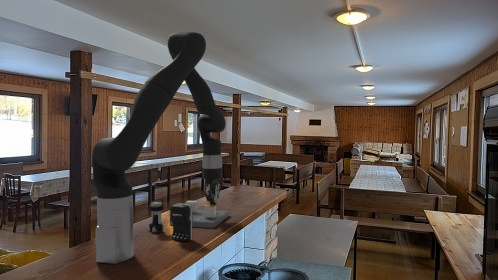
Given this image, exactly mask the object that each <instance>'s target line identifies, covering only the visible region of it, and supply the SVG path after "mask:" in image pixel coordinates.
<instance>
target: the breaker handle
mask: <svg viewBox="0 0 498 280" xmlns="http://www.w3.org/2000/svg"><path fill="white" fill-rule="evenodd" d="M203 210H204V217H211V218H214V217H216V210H217V204H216V205H210V204H205V205H203Z"/></svg>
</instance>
